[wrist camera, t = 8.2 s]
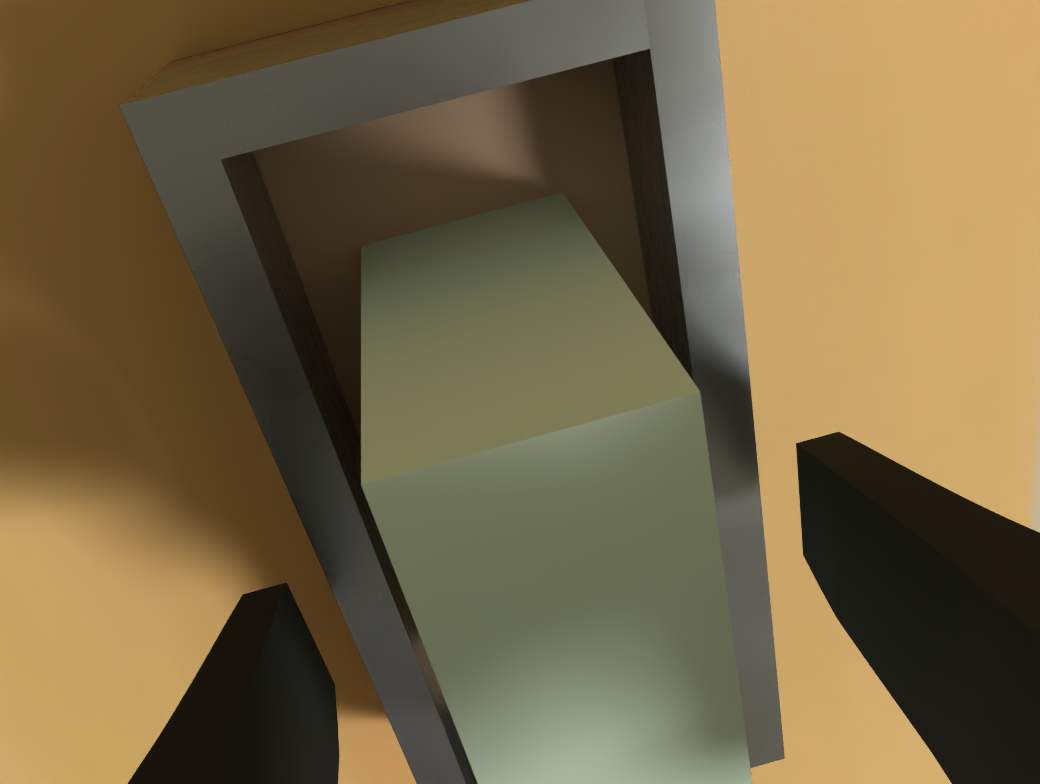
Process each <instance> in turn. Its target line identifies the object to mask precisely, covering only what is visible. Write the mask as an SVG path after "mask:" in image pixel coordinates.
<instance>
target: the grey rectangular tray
mask: <svg viewBox="0 0 1040 784" xmlns="http://www.w3.org/2000/svg"><path fill="white" fill-rule="evenodd" d="M119 106H120V108H121V111H122V113H123V115H124V118H125V120H126V122H127V124H128V127H129V129H130V131H131V134H132V136H133V138H134V140H135V143H136V145H137V147H138V149H139V152H140V154H141V156H142V159H143V161H144V163H145V165H146V168H147V170H148V172H149V175H150V177H151V179H152V181H153V184H154V186H155V188H156V190H157V193H158V195H159V197H160V200H161V202H162V204H163V206H164V209H165V211H166V213H167V216H168V218H169V220H170V222H171V225H172V227H173V229H174V231H175V234H176V236H177V238H178V241H179V243H180V245H181V247H182V250H183V252H184V254H185V257H186V259H187V261H188V263H189V266H190V268H191V270H192V272H193V275H194V277H195V279H196V282H197V284H198V286H199V288H200V291H201V293H202V295H203V298H204V300H205V302H206V304H207V307H208V309H209V311H210V313H211V316H212V318H213V320H214V323H215V325H216V327H217V329H218V332H219V334H220V336H221V339H222V341H223V343H224V345H225V348H226V350H227V352H228V354H229V357H230V359H231V361H232V364H233V366H234V368H235V370H236V373H237V375H238V377H239V380H240V382H241V384H242V386H243V389H244V391H245V393H246V395H247V398H248V400H249V402H250V405H251V407H252V409H253V411H254V414H255V416H256V418H257V421H258V423H259V425H260V427H261V430H262V432H263V434H264V436H265V439H266V441H267V443H268V446H269V448H270V450H271V452H272V455H273V457H274V459H275V462H276V464H277V466H278V468H279V471H280V473H281V475H282V477H283V480H284V482H285V484H286V487H287V489H288V491H289V493H290V496H291V498H292V500H293V503H294V505H295V507H296V509H297V512H298V514H299V516H300V518H301V521H302V523H303V525H304V528H305V530H306V532H307V534H308V537H309V539H310V541H311V544H312V546H313V548H314V550H315V553H316V555H317V557H318V559H319V562H320V564H321V566H322V569H323V571H324V573H325V575H326V578H327V580H328V582H329V585H330V587H331V589H332V591H333V594H334V596H335V598H336V600H337V603H338V605H339V607H340V610H341V612H342V614H343V616H344V619H345V621H346V623H347V626H348V628H349V630H350V632H351V635H352V637H353V639H354V641H355V644H356V646H357V648H358V651H359V653H360V655H361V657H362V660H363V662H364V664H365V667H366V669H367V671H368V673H369V676H370V678H371V680H372V682H373V685H374V687H375V689H376V692H377V694H378V696H379V698H380V701H381V703H382V705H383V708H384V710H385V712H386V714H387V717H388V719H389V721H390V723H391V726H392V728H393V730H394V733H395V735H396V737H397V739H398V742H399V744H400V746H401V749H402V751H403V753H404V755H405V758H406V760H407V762H408V764H409V767H410V769H411V771H412V774H413V776H414V778H415V780H416V783H417V784H478V783H477V780H476V778H475V775H474V773H473V770H472V768H471V765H470V762H469V760H468V757H467V755H466V752H465V750H464V747H463V745H462V742H461V739H460V737H459V734H458V732H457V729H456V727H455V724H454V722H453V719H452V716H451V714H450V711H449V709H448V706H447V704H446V701H445V699H444V696H443V693H442V691H441V688H440V686H439V683H438V681H437V678H436V676H435V673H434V670H433V668H432V665H431V663H430V660H429V658H428V655H427V652H426V650H425V647H424V645H423V642H422V640H421V637H420V635H419V632H418V629H417V627H416V624H415V622H414V619H413V617H412V614H411V612H410V609H409V606H408V604H407V601H406V599H405V596H404V594H403V591H402V589H401V586H400V583H399V581H398V578H397V576H396V573H395V571H394V568H393V566H392V563H391V560H390V558H389V555H388V553H387V550H386V548H385V545H384V543H383V540H382V537H381V535H380V532H379V530H378V527H377V525H376V522H375V519H374V517H373V514H372V512H371V509H370V507H369V504H368V502H367V499H366V496H365V494H364V491H363V489H362V486H361V246H362V245H366V244H370V243H374V242H377V241H381V240H385V239H388V238H392V237H396V236H400V235H403V234H407V233H411V232H415V231H418V230H422V229H426V228H430V227H433V226H437V225H441V224H445V223H448V222H452V221H456V220H459V219H463V218H467V217H471V216H474V215H478V214H482V213H486V212H489V211H493V210H497V209H501V208H504V207H508V206H512V205H516V204H519V203H523V202H527V201H530V200H534V199H538V198H542V197H545V196H549V195H553V194H557V193H560V192H563V194H564V195H565V197H566V198H567V199H568V201H569V202H570V204H571V205H572V207H573V208H574V210H575V211H576V213H577V214H578V215H579V217H580V218H581V220H582V221H583V223H584V224H585V226H586V227H587V228H588V230H589V231H590V233H591V234H592V236H593V237H594V239H595V240H596V241H597V243H598V244H599V246H600V247H601V249H602V250H603V252H604V253H605V255H606V256H607V257H608V259H609V260H610V262H611V263H612V265H613V266H614V268H615V269H616V270H617V272H618V273H619V275H620V276H621V278H622V279H623V281H624V282H625V283H626V285H627V286H628V288H629V289H630V291H631V292H632V294H633V295H634V297H635V298H636V299H637V301H638V302H639V304H640V305H641V307H642V308H643V310H644V311H645V312H646V314H647V315H648V317H649V318H650V320H651V321H652V323H653V324H654V325H655V327H656V328H657V330H658V331H659V333H660V334H661V336H662V337H663V338H664V340H665V341H666V343H667V344H668V346H669V347H670V349H671V350H672V352H673V353H674V354H675V356H676V357H677V359H678V360H679V362H680V363H681V365H682V366H683V367H684V369H685V370H686V372H687V373H688V375H689V376H690V378H691V379H692V380H693V382H694V383H695V385H696V386H697V388H698V389H699V391H700V394H701V401H702V409H703V416H704V424H705V431H706V439H707V446H708V454H709V461H710V469H711V476H712V484H713V491H714V499H715V507H716V514H717V522H718V529H719V537H720V544H721V552H722V559H723V567H724V574H725V582H726V589H727V597H728V604H729V612H730V619H731V627H732V634H733V642H734V649H735V657H736V664H737V672H738V680H739V687H740V695H741V702H742V710H743V717H744V725H745V732H746V740H747V747H748V755H749V762H750V768H752V767H756V766H759V765H763V764H766V763H770V762H773V761H777V760H780V759H784V758H785V757H784V746H783V735H782V724H781V713H780V702H779V691H778V681H777V670H776V659H775V648H774V637H773V626H772V615H771V605H770V594H769V583H768V572H767V561H766V550H765V539H764V529H763V518H762V507H761V496H760V485H759V474H758V463H757V453H756V442H755V431H754V420H753V409H752V398H751V387H750V377H749V366H748V355H747V344H746V333H745V322H744V311H743V301H742V290H741V279H740V268H739V257H738V246H737V235H736V225H735V214H734V203H733V192H732V181H731V170H730V159H729V149H728V138H727V127H726V116H725V105H724V94H723V84H722V73H721V62H720V51H719V40H718V29H717V18H716V8H715V0H411V1H408V2H404V3H400V4H396V5H392V6H388V7H384V8H380V9H376V10H372V11H368V12H364V13H360V14H356V15H352V16H349V17H345V18H341V19H337V20H333V21H329V22H325V23H321V24H317V25H313V26H309V27H305V28H301V29H297V30H293V31H290V32H286V33H282V34H278V35H274V36H270V37H266V38H262V39H258V40H254V41H250V42H246V43H242V44H238V45H234V46H231V47H227V48H223V49H219V50H215V51H211V52H207V53H203V54H199V55H195V56H191V57H187V58H183V59H179V60H175V61H172V62H170V63H169V64H168V65H167V66H166V67H164V68H163V69H162V70H161V71H160V72H158V73H157V74H156V75H155V76H154V77H153V78H151V79H150V80H149V81H148V82H147V83H145V84H144V85H143V86H142V87H141V88H140V89H138V90H137V91H136V92H135V93H134V94H132V95H131V96H130V97H129V98H128V99H127V100H125V101H124V102H123V103H122V104H121V105H119Z"/></svg>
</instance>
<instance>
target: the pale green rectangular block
mask: <svg viewBox="0 0 1040 784" xmlns="http://www.w3.org/2000/svg"><path fill="white" fill-rule="evenodd" d="M361 486H362V489H363V491H364V494H365V496H366V499H367V502H368V504H369V507H370V509H371V512H372V514H373V517H374V519H375V522H376V525H377V527H378V530H379V532H380V535H381V537H382V540H383V543H384V545H385V548H386V550H387V553H388V555H389V558H390V560H391V563H392V566H393V568H394V571H395V573H396V576H397V578H398V581H399V583H400V586H401V589H402V591H403V594H404V596H405V599H406V601H407V604H408V606H409V609H410V612H411V614H412V617H413V619H414V622H415V624H416V627H417V629H418V632H419V635H420V637H421V640H422V642H423V645H424V647H425V650H426V652H427V655H428V658H429V660H430V663H431V665H432V668H433V670H434V673H435V676H436V678H437V681H438V683H439V686H440V688H441V691H442V693H443V696H444V699H445V701H446V704H447V706H448V709H449V711H450V714H451V716H452V719H453V722H454V724H455V727H456V729H457V732H458V734H459V737H460V739H461V742H462V745H463V747H464V750H465V752H466V755H467V757H468V760H469V762H470V765H471V768H472V770H473V773H474V775H475V778H476V780H477V783H478V784H752V777H751V770H750V762H749V755H748V747H747V740H746V732H745V725H744V717H743V710H742V702H741V695H740V687H739V680H738V672H737V664H736V657H735V649H734V642H733V634H732V627H731V619H730V612H729V604H728V597H727V589H726V582H725V574H724V567H723V559H722V552H721V544H720V537H719V529H718V522H717V514H716V507H715V499H714V491H713V484H712V476H711V469H710V461H709V454H708V446H707V439H706V431H705V424H704V416H703V409H702V401H701V394H700V391H699V389H698V388H697V386H696V385H695V383H694V382H693V380H692V379H691V378H690V376H689V375H688V373H687V372H686V370H685V369H684V367H683V366H682V365H681V363H680V362H679V360H678V359H677V357H676V356H675V354H674V353H673V352H672V350H671V349H670V347H669V346H668V344H667V343H666V341H665V340H664V338H663V337H662V336H661V334H660V333H659V331H658V330H657V328H656V327H655V325H654V324H653V323H652V321H651V320H650V318H649V317H648V315H647V314H646V312H645V311H644V310H643V308H642V307H641V305H640V304H639V302H638V301H637V299H636V298H635V297H634V295H633V294H632V292H631V291H630V289H629V288H628V286H627V285H626V283H625V282H624V281H623V279H622V278H621V276H620V275H619V273H618V272H617V270H616V269H615V268H614V266H613V265H612V263H611V262H610V260H609V259H608V257H607V256H606V255H605V253H604V252H603V250H602V249H601V247H600V246H599V244H598V243H597V241H596V240H595V239H594V237H593V236H592V234H591V233H590V231H589V230H588V228H587V227H586V226H585V224H584V223H583V221H582V220H581V218H580V217H579V215H578V214H577V213H576V211H575V210H574V208H573V207H572V205H571V204H570V202H569V201H568V199H567V198H566V197H565V195H564V194H563V192H560V193H557V194H553V195H549V196H545V197H542V198H538V199H534V200H530V201H527V202H523V203H519V204H516V205H512V206H508V207H504V208H501V209H497V210H493V211H489V212H486V213H482V214H478V215H474V216H471V217H467V218H463V219H459V220H456V221H452V222H448V223H445V224H441V225H437V226H433V227H430V228H426V229H422V230H418V231H415V232H411V233H407V234H403V235H400V236H396V237H392V238H388V239H385V240H381V241H377V242H374V243H370V244H366V245H362V246H361Z"/></svg>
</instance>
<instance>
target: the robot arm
mask: <svg viewBox="0 0 1040 784" xmlns="http://www.w3.org/2000/svg"><path fill="white" fill-rule="evenodd" d="M796 448H797V464H798V479H799V495H800V511H801V527H802V543H803V555H804V557H805V559H806V561H807V563H808V565H809V567H810V569H811V571H812V573H813V575H814V577H815V579H816V580H817V582H818V584H819V586H820V588H821V590H822V592H823V594H824V596H825V597H826V599H827V601H828V603H829V605H830V607H831V608H832V610H833V612H834V614H835V616H836V617H837V619H838V620H839V622H840V623H841V625H842V626H843V628H844V629H845V630H846V632H847V633H848V635H849V636H850V638H851V639H852V640H853V642H854V643H855V645H856V646H857V648H858V649H859V650H860V652H861V653H862V655H863V656H864V658H865V659H866V660H867V662H868V663H869V665H870V666H871V668H872V669H873V670H874V672H875V673H876V675H877V676H878V677H879V679H880V680H881V682H882V683H883V684H884V686H885V687H886V689H887V690H888V691H889V693H890V694H891V696H892V697H893V698H894V700H895V701H896V703H897V704H898V706H899V707H900V708H901V710H902V711H903V713H904V714H905V715H906V717H907V718H908V720H909V721H910V722H911V724H912V725H913V727H914V728H915V729H916V731H917V732H918V734H919V735H920V736H921V738H922V739H923V741H924V742H925V744H926V745H927V746H928V748H929V749H930V751H931V752H932V754H933V755H934V757H935V758H936V760H937V761H938V763H939V764H940V766H941V767H942V769H943V771H944V772H945V774H946V775H947V777H948V778H949V780H950V781H951V783H952V784H1040V533H1039V532H1037V531H1034V530H1032V529H1030V528H1028V527H1025V526H1023V525H1021V524H1018V523H1016V522H1014V521H1012V520H1009V519H1007V518H1005V517H1003V516H1001V515H999V514H997V513H995V512H992V511H990V510H988V509H986V508H984V507H982V506H980V505H978V504H976V503H974V502H972V501H970V500H968V499H966V498H964V497H962V496H960V495H958V494H956V493H954V492H952V491H950V490H948V489H946V488H944V487H942V486H940V485H938V484H936V483H934V482H932V481H930V480H928V479H926V478H925V477H923V476H921V475H919V474H917V473H915V472H913V471H911V470H910V469H908V468H906V467H904V466H902V465H900V464H898V463H896V462H895V461H893V460H891V459H889V458H887V457H885V456H884V455H882V454H880V453H878V452H876V451H874V450H872V449H871V448H869V447H867V446H865V445H863V444H861V443H859V442H858V441H856V440H854V439H852V438H850V437H848V436H846V435H844V434H842V433H840V432H836V433H833V434H829V435H825V436H822V437H818V438H814V439H811V440H807V441H803V442H800V443H796ZM338 770H339V741H338V722H337V708H336V694H335V684H334V682H333V680H332V678H331V675H330V673H329V671H328V669H327V667H326V665H325V663H324V661H323V658H322V656H321V654H320V652H319V650H318V648H317V646H316V644H315V642H314V639H313V637H312V635H311V633H310V631H309V629H308V627H307V625H306V622H305V620H304V618H303V616H302V614H301V612H300V610H299V608H298V606H297V603H296V601H295V599H294V597H293V595H292V593H291V591H290V589H289V586H288V584H287V583H283V584H280V585H276V586H272V587H269V588H265V589H261V590H258V591H254V592H251V593H247V594H243V595H242V597H241V599H240V600H239V602H238V604H237V605H236V607H235V609H234V610H233V612H232V614H231V615H230V617H229V619H228V620H227V622H226V624H225V626H224V627H223V629H222V631H221V633H220V634H219V636H218V638H217V640H216V641H215V643H214V645H213V647H212V648H211V650H210V652H209V654H208V655H207V657H206V659H205V661H204V662H203V664H202V666H201V667H200V669H199V671H198V673H197V674H196V676H195V678H194V680H193V681H192V683H191V685H190V686H189V688H188V690H187V691H186V693H185V695H184V696H183V698H182V699H181V701H180V703H179V704H178V706H177V708H176V709H175V711H174V713H173V714H172V716H171V718H170V719H169V721H168V723H167V724H166V726H165V728H164V729H163V731H162V732H161V734H160V736H159V737H158V739H157V740H156V742H155V743H154V745H153V746H152V748H151V749H150V751H149V752H148V754H147V755H146V757H145V758H144V760H143V761H142V763H141V764H140V766H139V767H138V769H137V770H136V772H135V773H134V775H133V776H132V778H131V779H130V781H129V782H128V784H338Z"/></svg>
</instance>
